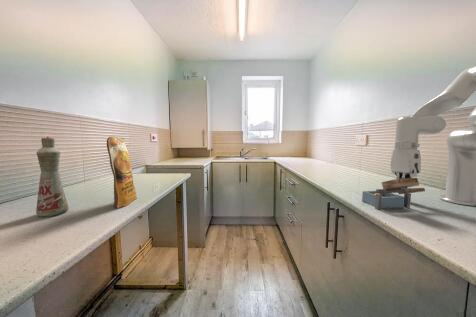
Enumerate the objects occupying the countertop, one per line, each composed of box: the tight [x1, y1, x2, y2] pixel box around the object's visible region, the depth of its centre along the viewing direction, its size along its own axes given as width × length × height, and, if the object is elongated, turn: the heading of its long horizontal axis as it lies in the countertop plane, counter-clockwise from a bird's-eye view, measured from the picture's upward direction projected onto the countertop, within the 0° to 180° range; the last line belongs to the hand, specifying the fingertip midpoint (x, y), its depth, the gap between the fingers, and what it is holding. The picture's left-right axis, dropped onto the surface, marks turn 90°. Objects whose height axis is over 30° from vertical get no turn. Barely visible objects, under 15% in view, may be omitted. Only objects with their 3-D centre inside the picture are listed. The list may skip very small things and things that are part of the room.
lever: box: [375, 177, 426, 195], centre depth 80 cm, size 18×22×4 cm
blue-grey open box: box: [361, 190, 404, 210], centre depth 83 cm, size 10×10×4 cm
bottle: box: [35, 136, 70, 218], centre depth 72 cm, size 9×9×28 cm
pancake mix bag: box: [106, 136, 138, 209], centre depth 85 cm, size 7×19×28 cm, turn 5°
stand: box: [374, 193, 412, 211], centre depth 78 cm, size 2×14×6 cm, turn 97°
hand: (402, 188), depth 88 cm, fingers closed
